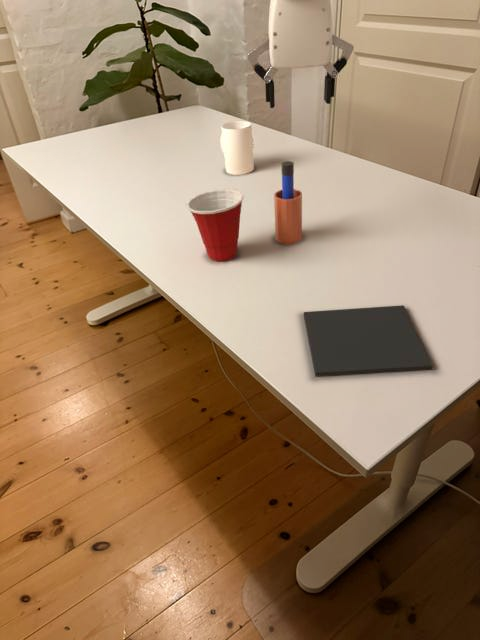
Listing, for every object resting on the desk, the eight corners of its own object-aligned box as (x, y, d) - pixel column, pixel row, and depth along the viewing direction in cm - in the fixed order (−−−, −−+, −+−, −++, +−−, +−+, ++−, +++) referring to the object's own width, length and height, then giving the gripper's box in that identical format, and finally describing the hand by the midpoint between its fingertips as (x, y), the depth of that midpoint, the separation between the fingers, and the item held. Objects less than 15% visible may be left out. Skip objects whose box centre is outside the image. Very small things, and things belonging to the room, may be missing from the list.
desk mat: (403, 309, 74) (403, 305, 74) (432, 369, 63) (433, 365, 63) (303, 315, 75) (303, 311, 75) (315, 376, 64) (315, 372, 64)
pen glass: (300, 230, 98) (300, 187, 93) (303, 242, 94) (303, 198, 88) (274, 232, 99) (273, 189, 93) (276, 244, 94) (275, 200, 89)
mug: (235, 159, 137) (232, 116, 130) (260, 168, 129) (258, 124, 122) (212, 166, 134) (207, 123, 127) (236, 177, 126) (232, 131, 119)
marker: (293, 232, 97) (293, 160, 88) (294, 237, 95) (294, 164, 86) (282, 232, 97) (280, 161, 88) (283, 238, 95) (281, 165, 86)
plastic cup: (208, 238, 99) (201, 184, 92) (256, 244, 95) (252, 188, 88) (185, 264, 91) (175, 207, 84) (235, 272, 87) (229, 213, 80)
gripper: (353, -23, 73) (345, 95, 83) (243, -13, 74) (249, 102, 84) (363, -21, 67) (353, 105, 77) (243, -11, 68) (250, 113, 78)
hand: (299, 104), depth 81 cm, fingers open, 9 cm apart
